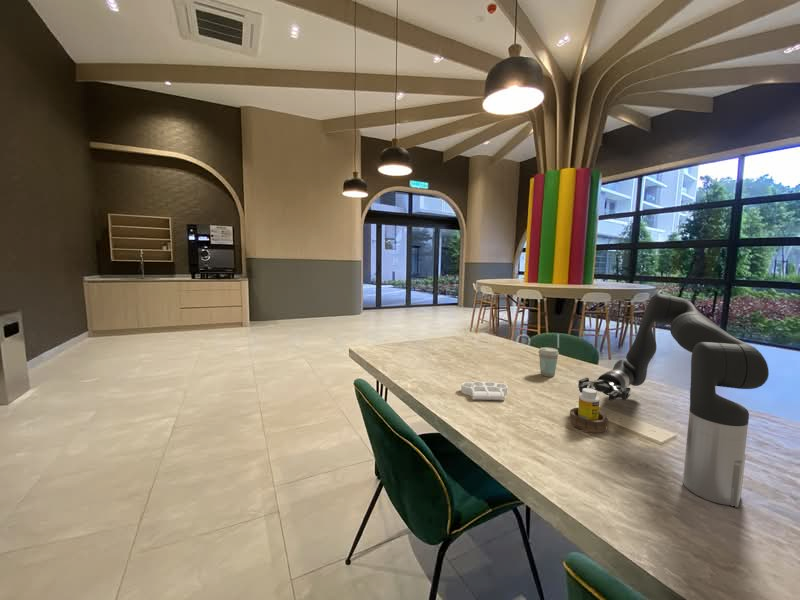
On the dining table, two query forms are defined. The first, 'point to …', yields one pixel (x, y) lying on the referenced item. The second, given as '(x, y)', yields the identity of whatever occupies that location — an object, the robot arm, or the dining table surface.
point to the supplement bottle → (588, 404)
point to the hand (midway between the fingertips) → (595, 393)
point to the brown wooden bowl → (588, 422)
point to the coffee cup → (548, 361)
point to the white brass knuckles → (485, 390)
